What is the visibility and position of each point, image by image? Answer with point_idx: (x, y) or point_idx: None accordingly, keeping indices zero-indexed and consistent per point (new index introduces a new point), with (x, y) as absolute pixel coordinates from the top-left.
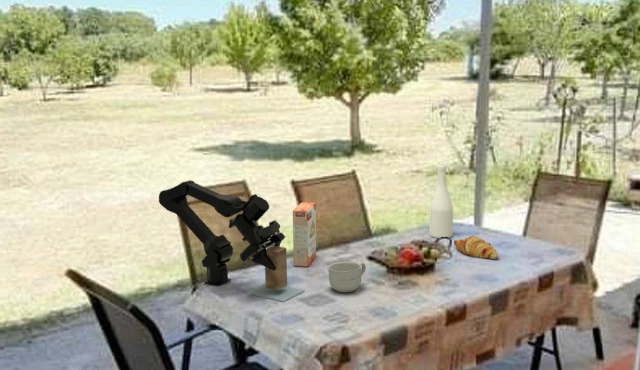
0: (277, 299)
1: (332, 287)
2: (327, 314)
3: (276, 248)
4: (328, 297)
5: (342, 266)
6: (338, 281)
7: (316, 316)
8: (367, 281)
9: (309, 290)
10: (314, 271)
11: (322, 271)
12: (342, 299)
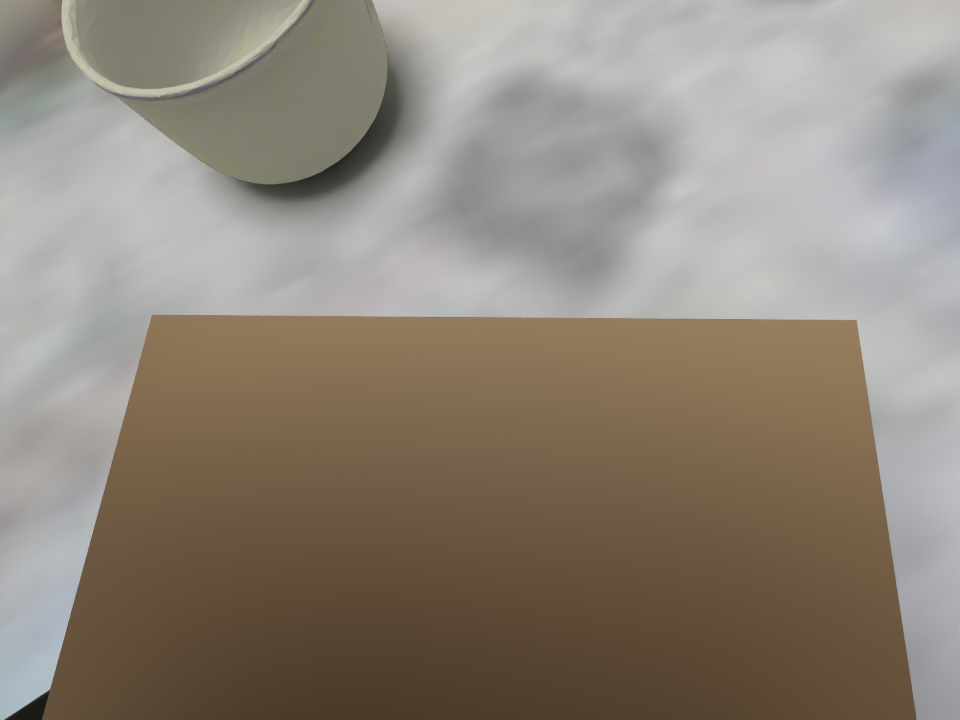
0: None
1: (358, 141)
2: (753, 3)
3: (327, 706)
4: (475, 136)
5: (113, 74)
6: (372, 24)
7: (826, 35)
8: None
9: (395, 306)
10: (12, 467)
11: (9, 410)
12: (475, 56)
